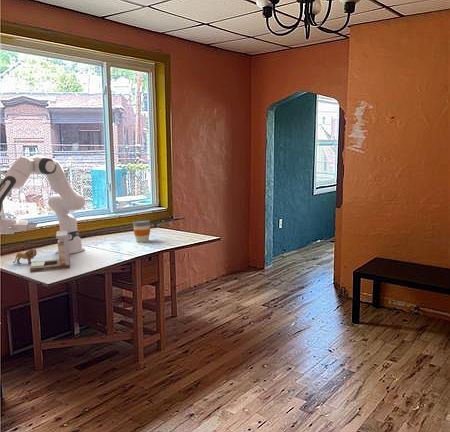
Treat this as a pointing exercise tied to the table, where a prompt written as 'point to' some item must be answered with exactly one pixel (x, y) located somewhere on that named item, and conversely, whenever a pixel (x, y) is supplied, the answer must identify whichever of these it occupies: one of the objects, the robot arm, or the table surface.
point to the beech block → (61, 252)
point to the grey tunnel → (64, 237)
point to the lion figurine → (26, 256)
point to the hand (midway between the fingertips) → (36, 225)
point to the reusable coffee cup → (141, 230)
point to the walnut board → (50, 266)
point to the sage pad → (37, 264)
